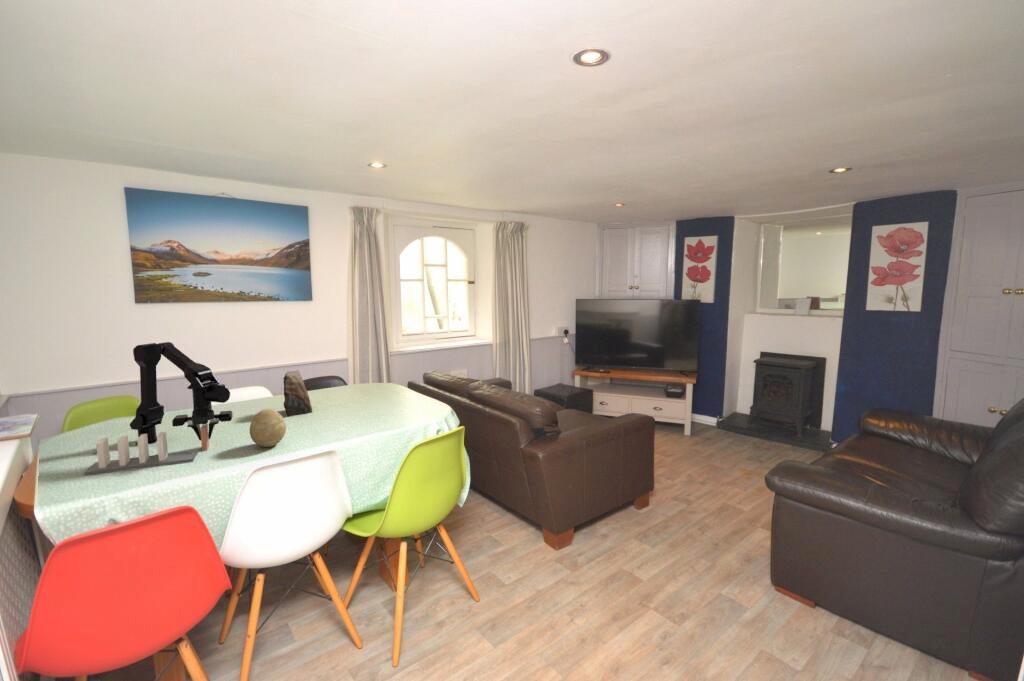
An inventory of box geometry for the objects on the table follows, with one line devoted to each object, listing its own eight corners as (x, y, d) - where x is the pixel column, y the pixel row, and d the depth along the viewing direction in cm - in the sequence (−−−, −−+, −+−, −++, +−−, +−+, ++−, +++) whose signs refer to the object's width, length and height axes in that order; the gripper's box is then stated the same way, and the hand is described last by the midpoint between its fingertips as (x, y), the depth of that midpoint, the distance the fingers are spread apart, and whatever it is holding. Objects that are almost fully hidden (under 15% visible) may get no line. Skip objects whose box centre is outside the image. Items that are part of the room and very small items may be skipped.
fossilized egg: (292, 440, 187) (291, 405, 185) (276, 452, 175) (274, 414, 173) (262, 439, 188) (260, 404, 186) (243, 451, 175) (241, 413, 173)
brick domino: (204, 446, 179) (202, 424, 178) (209, 445, 180) (207, 423, 179) (202, 450, 175) (200, 428, 174) (207, 450, 175) (205, 427, 174)
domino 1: (104, 463, 160) (101, 438, 158) (110, 462, 160) (107, 437, 159) (99, 468, 155) (96, 443, 154) (105, 467, 156) (102, 442, 155)
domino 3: (143, 458, 164) (141, 434, 163) (149, 457, 165) (147, 433, 164) (139, 463, 160) (137, 438, 159) (145, 462, 160) (143, 438, 159)
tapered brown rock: (286, 417, 217) (284, 376, 215) (277, 411, 226) (275, 371, 224) (313, 412, 226) (311, 372, 223) (304, 406, 235) (302, 368, 232)
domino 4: (162, 456, 167) (160, 432, 165) (167, 455, 167) (165, 431, 166) (158, 461, 162) (156, 436, 161) (164, 460, 163) (162, 436, 162)
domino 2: (124, 460, 162) (122, 436, 161) (130, 459, 163) (127, 435, 161) (119, 465, 157) (117, 440, 156) (125, 465, 158) (123, 440, 157)
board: (95, 465, 160) (94, 462, 160) (197, 452, 173) (197, 450, 173) (84, 475, 152) (84, 472, 152) (192, 461, 165) (192, 458, 165)
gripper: (167, 408, 163) (170, 450, 166) (227, 403, 171) (230, 443, 174) (174, 400, 173) (177, 440, 176) (231, 396, 181) (233, 434, 184)
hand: (205, 439), depth 177 cm, fingers open, 3 cm apart
